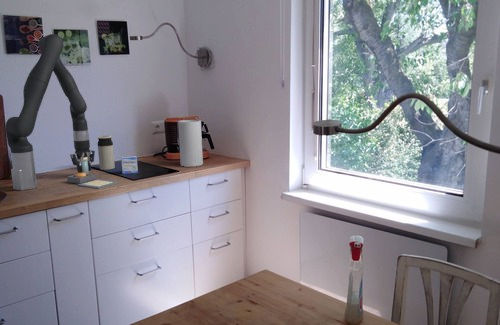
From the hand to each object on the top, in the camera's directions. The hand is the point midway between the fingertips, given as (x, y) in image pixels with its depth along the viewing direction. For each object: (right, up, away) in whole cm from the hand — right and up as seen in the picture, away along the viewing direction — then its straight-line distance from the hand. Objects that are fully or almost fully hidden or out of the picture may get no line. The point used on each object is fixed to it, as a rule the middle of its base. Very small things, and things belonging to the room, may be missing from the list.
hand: (84, 171), depth 236 cm
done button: (+2, -3, -11) cm, 12 cm away
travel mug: (+6, +1, +19) cm, 20 cm away
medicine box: (+22, -1, +6) cm, 23 cm away
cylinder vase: (+52, +3, +23) cm, 57 cm away
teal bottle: (0, -2, 0) cm, 2 cm away
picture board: (+13, -6, -18) cm, 23 cm away
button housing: (+3, -5, -11) cm, 12 cm away
